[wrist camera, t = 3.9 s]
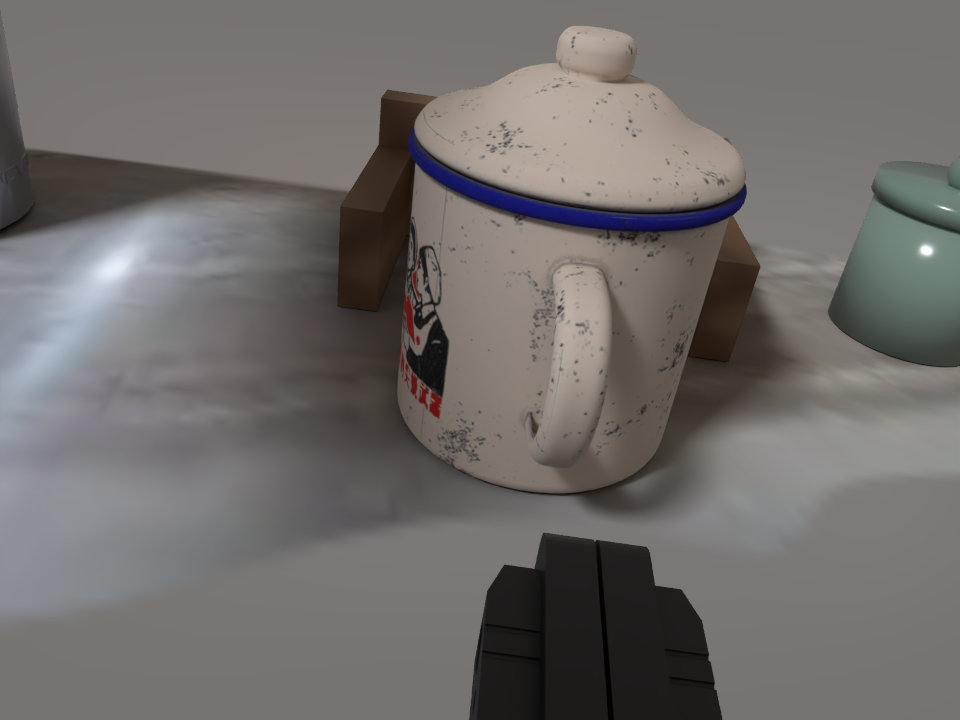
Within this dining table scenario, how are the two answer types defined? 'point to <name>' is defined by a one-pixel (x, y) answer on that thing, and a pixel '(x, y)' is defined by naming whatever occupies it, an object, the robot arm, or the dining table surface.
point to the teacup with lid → (558, 267)
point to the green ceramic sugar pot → (906, 266)
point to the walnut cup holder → (387, 218)
